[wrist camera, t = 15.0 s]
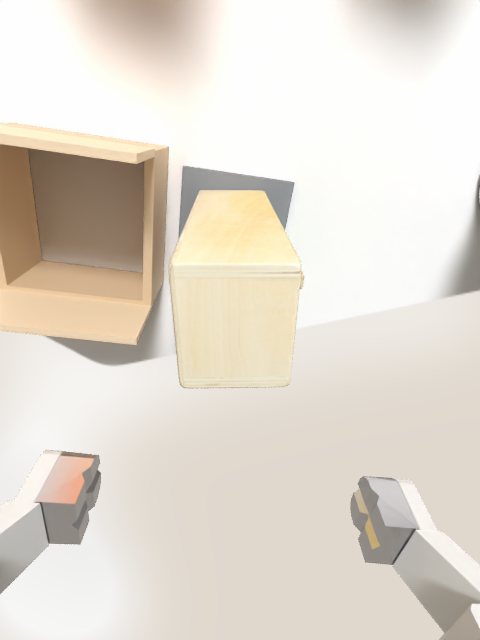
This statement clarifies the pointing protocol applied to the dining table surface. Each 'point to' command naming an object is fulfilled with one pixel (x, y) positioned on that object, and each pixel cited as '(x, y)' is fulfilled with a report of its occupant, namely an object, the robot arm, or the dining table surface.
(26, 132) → the carton
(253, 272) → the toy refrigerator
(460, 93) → the dining table surface
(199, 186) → the mat
